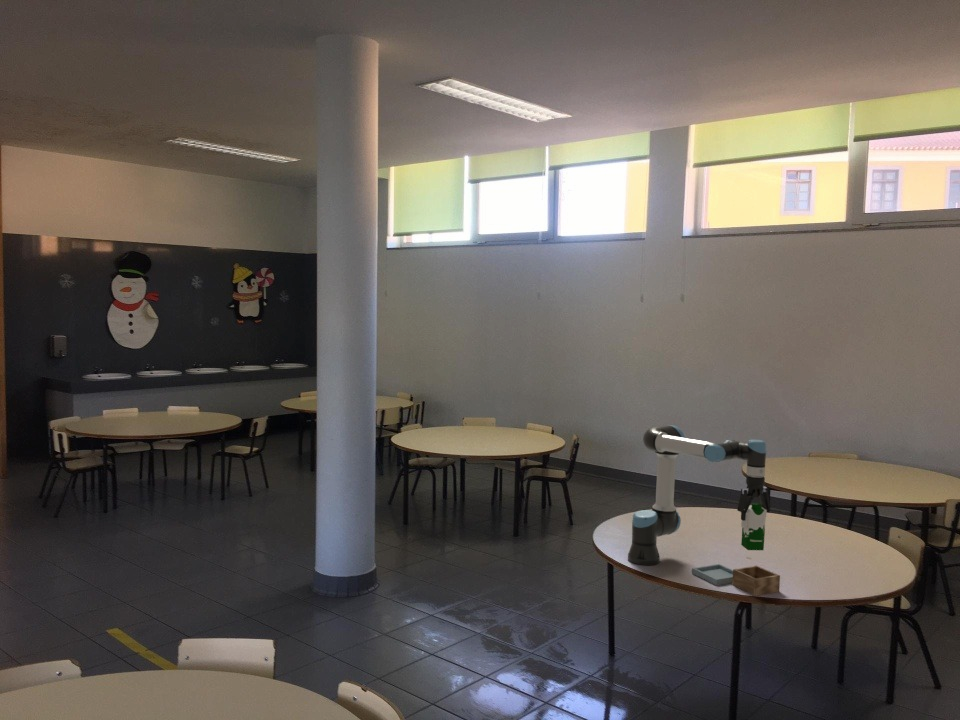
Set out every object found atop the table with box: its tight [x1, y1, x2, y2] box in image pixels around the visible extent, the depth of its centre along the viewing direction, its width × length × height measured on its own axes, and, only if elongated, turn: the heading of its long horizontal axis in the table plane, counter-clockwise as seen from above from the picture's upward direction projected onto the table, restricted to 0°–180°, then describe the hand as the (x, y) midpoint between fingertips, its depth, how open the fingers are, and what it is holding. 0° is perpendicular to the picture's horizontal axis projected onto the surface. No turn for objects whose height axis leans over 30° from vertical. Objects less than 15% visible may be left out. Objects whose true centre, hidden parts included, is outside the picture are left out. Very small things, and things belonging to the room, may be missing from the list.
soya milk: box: [740, 502, 768, 551], centre depth 314 cm, size 9×9×20 cm
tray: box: [691, 563, 733, 586], centre depth 327 cm, size 16×16×2 cm
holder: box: [732, 565, 781, 597], centre depth 314 cm, size 14×14×7 cm
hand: (753, 526), depth 314 cm, fingers closed on soya milk, 9 cm apart
